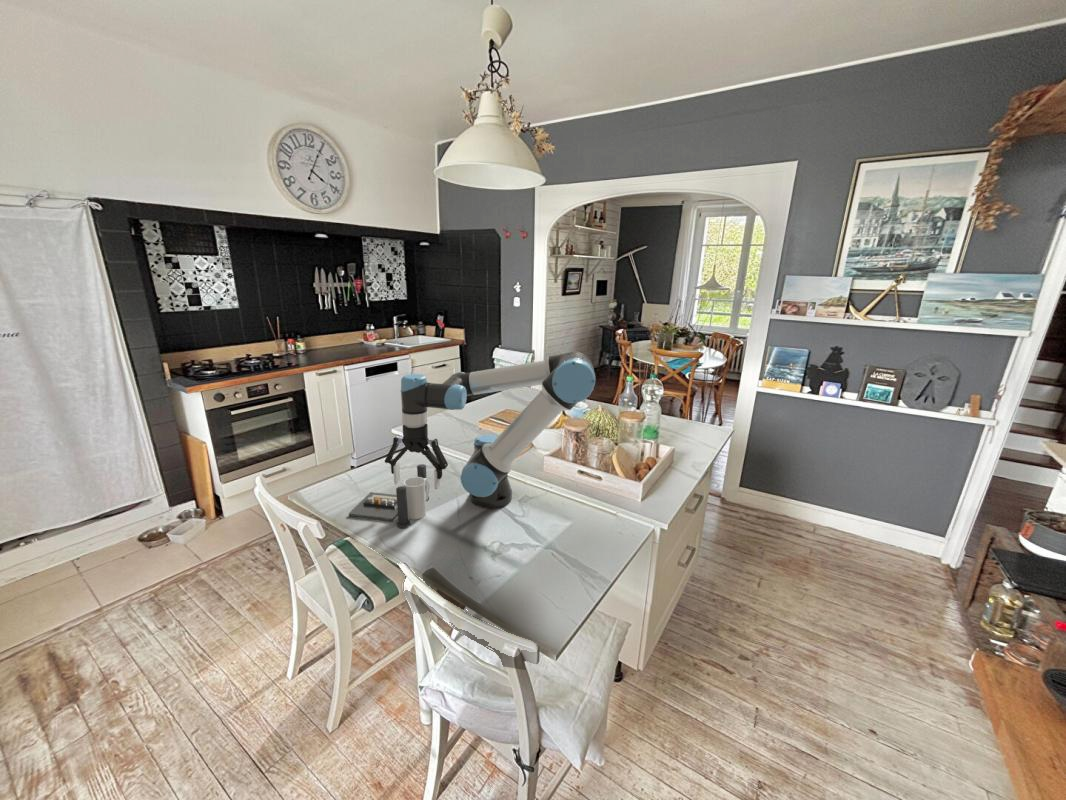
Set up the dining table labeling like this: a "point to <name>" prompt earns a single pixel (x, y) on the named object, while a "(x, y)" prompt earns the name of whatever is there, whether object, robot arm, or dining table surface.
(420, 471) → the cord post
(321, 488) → the dining table surface
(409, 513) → the mug
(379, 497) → the breaker panel
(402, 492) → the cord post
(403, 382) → the robot arm
